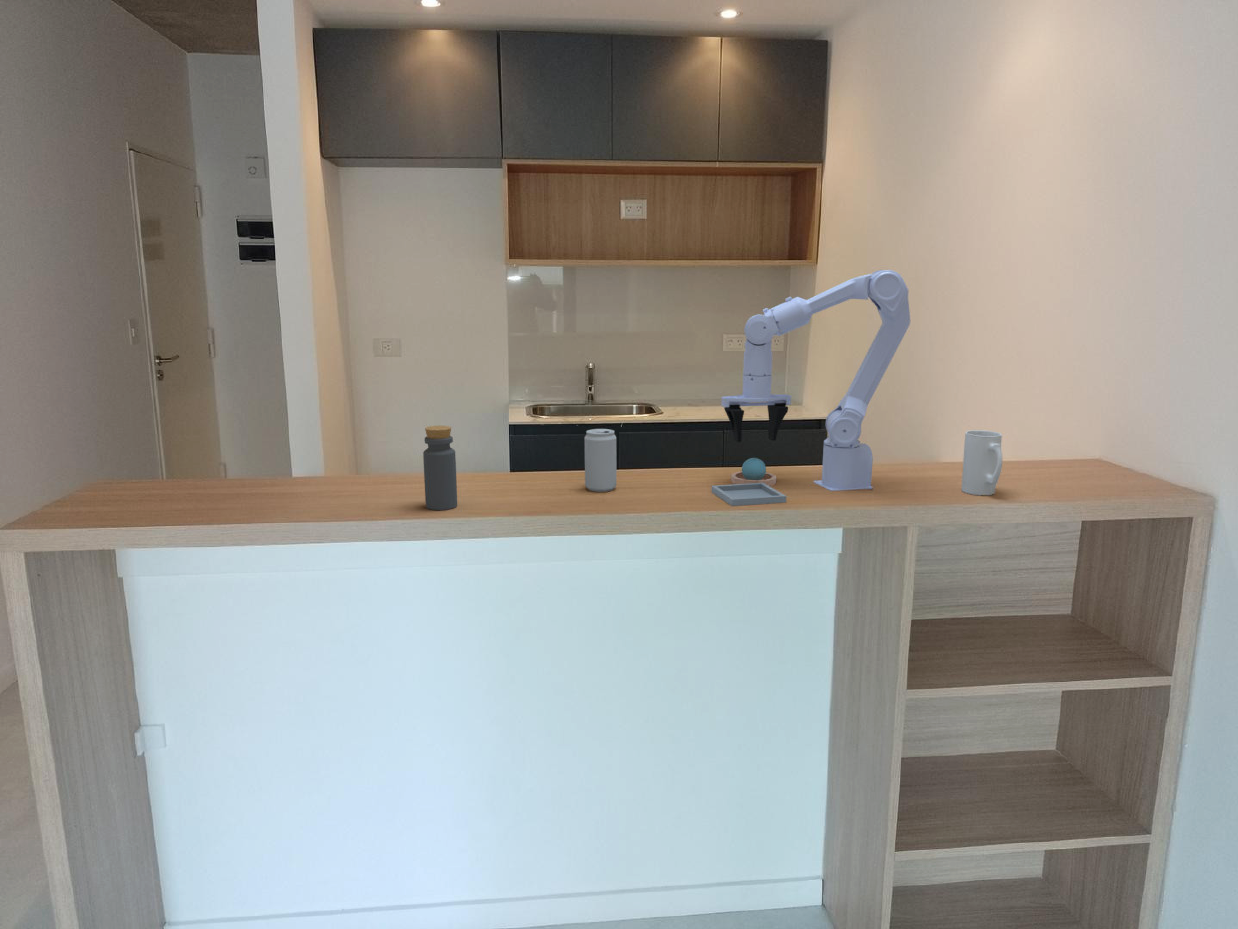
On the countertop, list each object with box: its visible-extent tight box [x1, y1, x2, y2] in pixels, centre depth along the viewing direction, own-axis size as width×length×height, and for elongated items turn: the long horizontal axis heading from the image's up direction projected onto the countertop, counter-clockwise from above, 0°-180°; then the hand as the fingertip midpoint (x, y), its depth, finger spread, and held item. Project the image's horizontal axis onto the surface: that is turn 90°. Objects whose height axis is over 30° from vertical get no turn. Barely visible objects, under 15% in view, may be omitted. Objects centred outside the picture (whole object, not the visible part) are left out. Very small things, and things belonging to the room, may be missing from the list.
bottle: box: [422, 425, 458, 511], centre depth 161 cm, size 6×6×15 cm
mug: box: [961, 429, 1003, 496], centre depth 171 cm, size 10×7×12 cm, turn 9°
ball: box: [741, 457, 767, 480], centre depth 180 cm, size 5×5×5 cm
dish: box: [730, 470, 777, 487], centre depth 180 cm, size 9×9×2 cm
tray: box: [710, 483, 787, 507], centre depth 168 cm, size 11×11×2 cm
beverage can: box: [584, 428, 617, 493], centre depth 174 cm, size 6×6×12 cm
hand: (754, 440), depth 179 cm, fingers open, 7 cm apart
